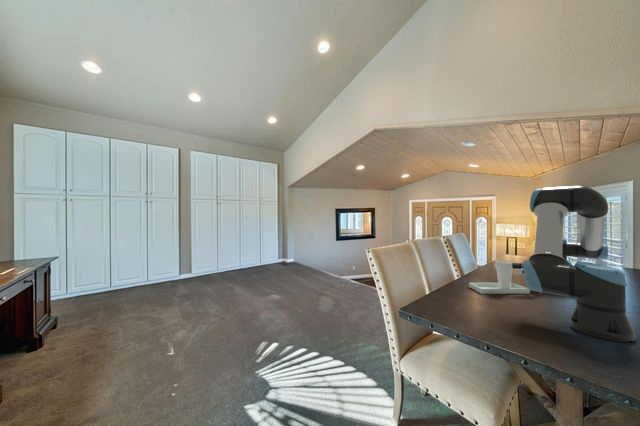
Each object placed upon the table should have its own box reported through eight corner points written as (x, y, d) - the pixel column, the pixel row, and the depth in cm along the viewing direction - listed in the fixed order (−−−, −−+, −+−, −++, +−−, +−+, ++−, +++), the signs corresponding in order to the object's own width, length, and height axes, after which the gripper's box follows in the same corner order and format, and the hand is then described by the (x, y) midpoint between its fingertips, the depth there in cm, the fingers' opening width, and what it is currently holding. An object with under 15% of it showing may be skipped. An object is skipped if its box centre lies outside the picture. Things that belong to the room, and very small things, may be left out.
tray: (482, 294, 129) (482, 289, 129) (469, 287, 141) (468, 282, 141) (530, 293, 128) (529, 288, 128) (512, 286, 140) (512, 282, 140)
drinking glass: (505, 293, 128) (504, 263, 128) (493, 289, 135) (493, 261, 135) (516, 291, 129) (515, 262, 129) (504, 288, 136) (503, 260, 136)
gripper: (565, 280, 125) (526, 282, 123) (521, 269, 149) (487, 270, 148) (565, 265, 125) (525, 267, 123) (520, 256, 149) (487, 257, 148)
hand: (504, 269), depth 135 cm, fingers open, 13 cm apart
